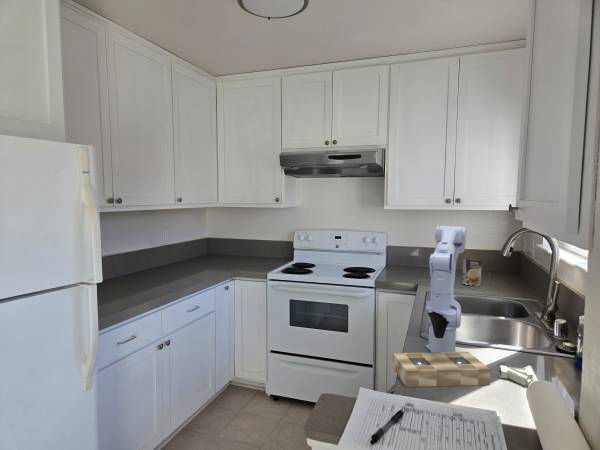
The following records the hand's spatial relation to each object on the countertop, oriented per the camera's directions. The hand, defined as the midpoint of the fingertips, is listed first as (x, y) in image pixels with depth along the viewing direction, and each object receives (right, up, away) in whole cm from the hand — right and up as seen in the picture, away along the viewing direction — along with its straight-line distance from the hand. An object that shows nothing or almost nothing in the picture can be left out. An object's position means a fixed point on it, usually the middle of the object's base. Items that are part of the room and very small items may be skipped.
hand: (438, 337), depth 111 cm
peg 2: (+5, -11, -2) cm, 12 cm away
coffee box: (+64, -4, +117) cm, 133 cm away
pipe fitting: (+20, -12, -5) cm, 24 cm away
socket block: (-1, -11, -2) cm, 11 cm away
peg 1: (-7, -11, -3) cm, 13 cm away
